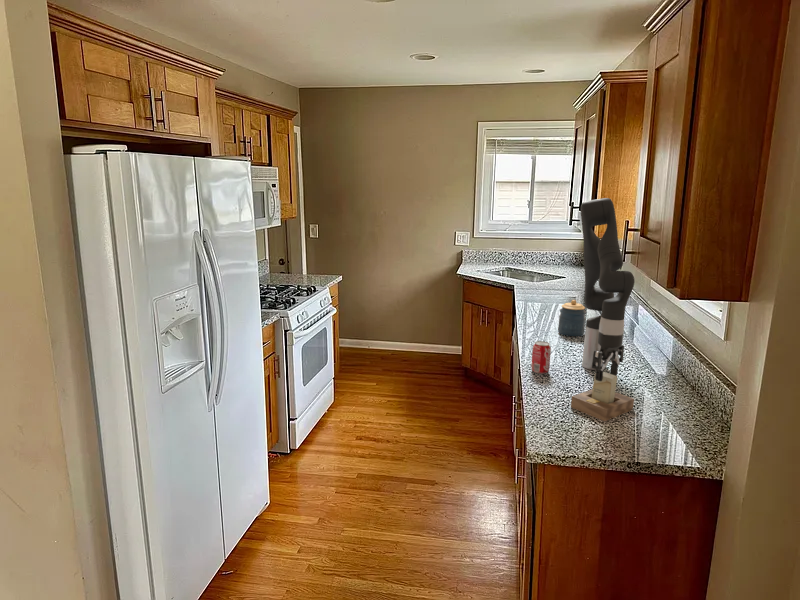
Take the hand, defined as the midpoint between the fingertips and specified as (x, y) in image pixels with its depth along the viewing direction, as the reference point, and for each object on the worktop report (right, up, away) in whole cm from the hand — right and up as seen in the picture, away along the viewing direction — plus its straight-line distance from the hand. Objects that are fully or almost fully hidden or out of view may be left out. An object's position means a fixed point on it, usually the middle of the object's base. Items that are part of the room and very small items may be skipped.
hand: (606, 377), depth 178 cm
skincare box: (0, -11, +3) cm, 11 cm away
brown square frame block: (-1, -11, +2) cm, 11 cm away
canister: (+18, +9, +93) cm, 95 cm away
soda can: (-12, -3, +37) cm, 39 cm away
